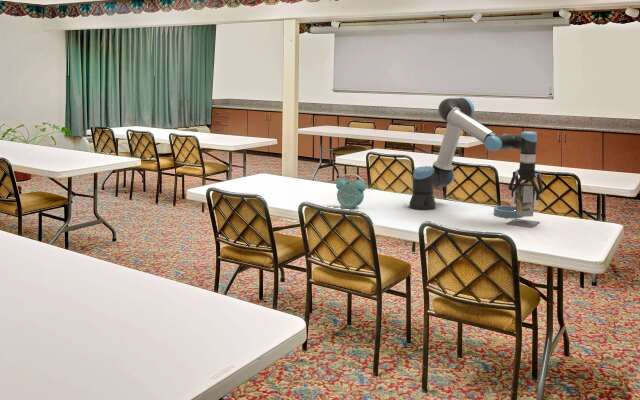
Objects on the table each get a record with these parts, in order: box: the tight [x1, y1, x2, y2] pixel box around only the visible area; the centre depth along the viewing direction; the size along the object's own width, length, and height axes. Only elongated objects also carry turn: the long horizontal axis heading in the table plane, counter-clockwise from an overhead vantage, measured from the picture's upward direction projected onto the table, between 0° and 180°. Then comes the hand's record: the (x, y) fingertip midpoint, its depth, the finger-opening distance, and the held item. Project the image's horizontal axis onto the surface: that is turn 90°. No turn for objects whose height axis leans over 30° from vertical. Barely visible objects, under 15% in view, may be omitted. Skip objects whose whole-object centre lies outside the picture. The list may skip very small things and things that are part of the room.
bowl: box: [493, 205, 523, 219], centre depth 339 cm, size 16×16×4 cm
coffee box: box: [515, 182, 536, 218], centre depth 317 cm, size 9×6×16 cm
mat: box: [506, 218, 541, 229], centre depth 320 cm, size 13×13×1 cm
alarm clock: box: [335, 173, 367, 210], centre depth 354 cm, size 17×10×20 cm, turn 68°
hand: (524, 204), depth 318 cm, fingers closed on coffee box, 10 cm apart
